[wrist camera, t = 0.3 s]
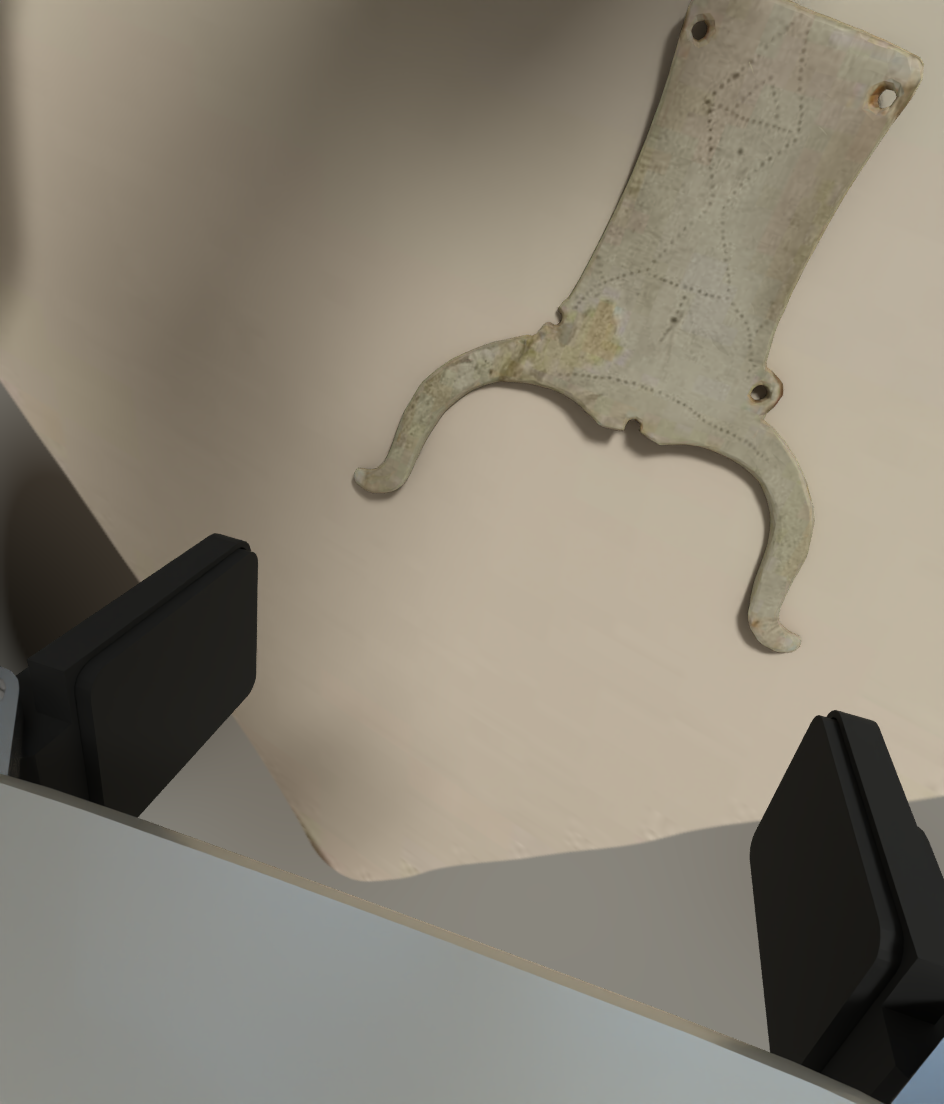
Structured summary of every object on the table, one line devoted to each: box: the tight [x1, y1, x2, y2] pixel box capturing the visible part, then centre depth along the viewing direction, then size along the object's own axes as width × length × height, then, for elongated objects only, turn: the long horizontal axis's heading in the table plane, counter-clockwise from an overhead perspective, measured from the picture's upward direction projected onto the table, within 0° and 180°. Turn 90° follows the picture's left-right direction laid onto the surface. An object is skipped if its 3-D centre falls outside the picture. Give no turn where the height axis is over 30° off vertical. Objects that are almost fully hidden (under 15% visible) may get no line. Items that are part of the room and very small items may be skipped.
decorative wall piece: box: [354, 0, 924, 653], centre depth 37 cm, size 30×3×30 cm
